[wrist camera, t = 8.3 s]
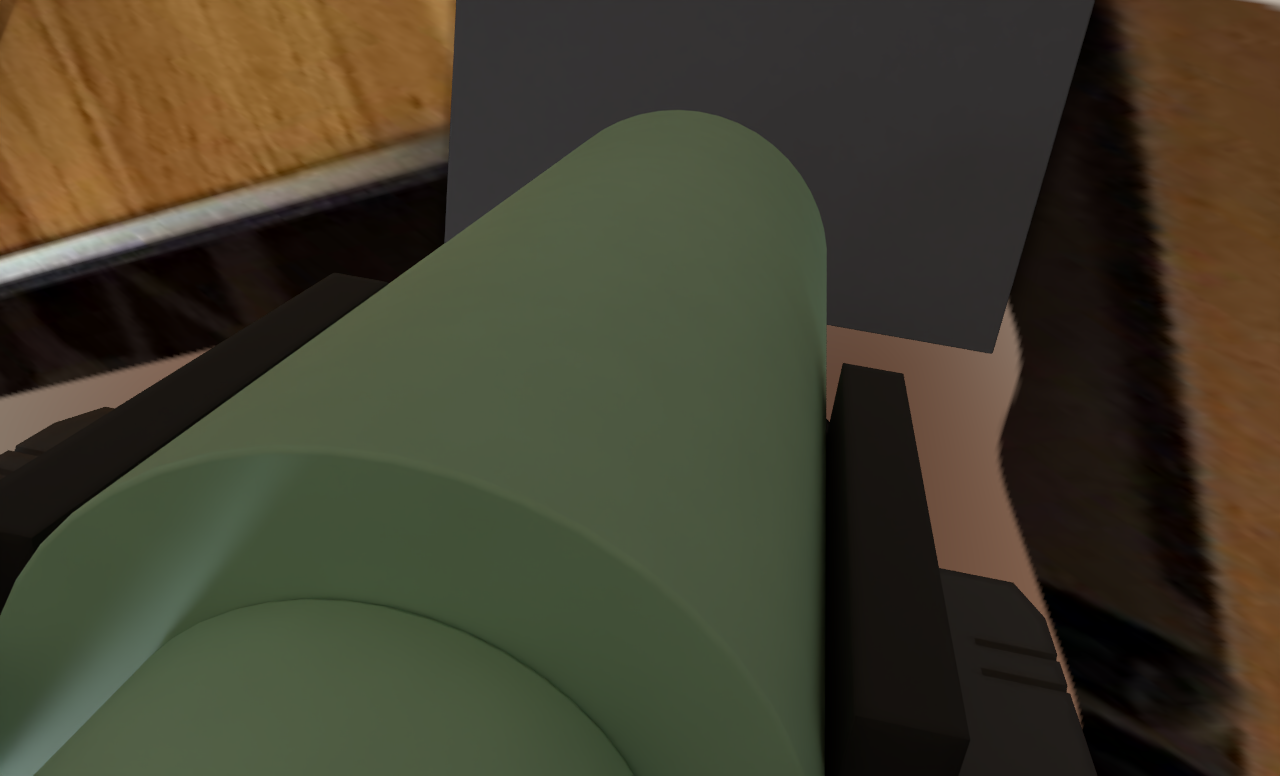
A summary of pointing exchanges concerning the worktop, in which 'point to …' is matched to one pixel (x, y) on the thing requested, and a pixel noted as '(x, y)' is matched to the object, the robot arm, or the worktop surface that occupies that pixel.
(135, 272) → the worktop surface
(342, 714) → the bottle
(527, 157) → the mat
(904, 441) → the robot arm
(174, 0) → the worktop surface
